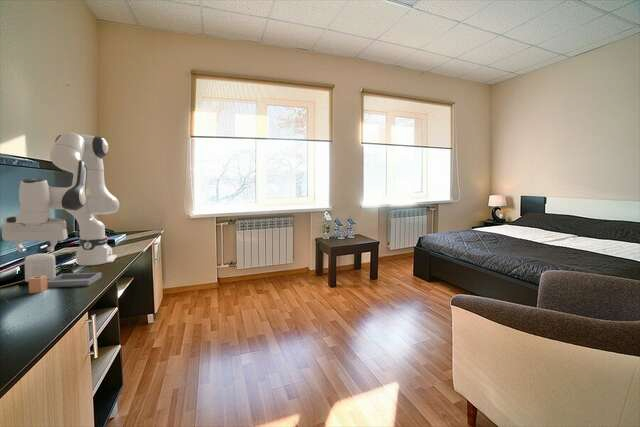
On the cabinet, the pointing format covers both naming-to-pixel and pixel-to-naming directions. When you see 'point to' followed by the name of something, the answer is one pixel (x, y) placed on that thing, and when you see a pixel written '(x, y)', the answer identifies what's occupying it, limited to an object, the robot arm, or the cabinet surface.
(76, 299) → the cabinet surface
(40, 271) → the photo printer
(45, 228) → the robot arm
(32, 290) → the terracotta block
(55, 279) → the tray
